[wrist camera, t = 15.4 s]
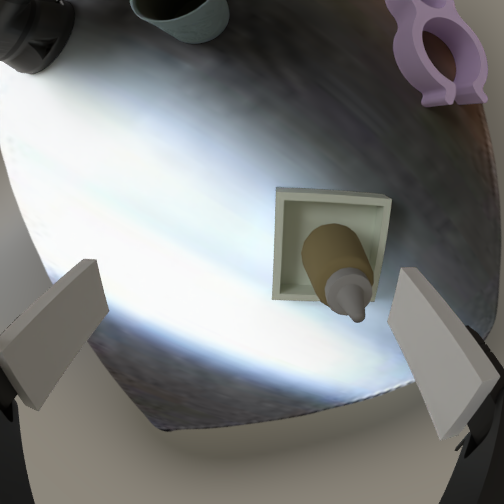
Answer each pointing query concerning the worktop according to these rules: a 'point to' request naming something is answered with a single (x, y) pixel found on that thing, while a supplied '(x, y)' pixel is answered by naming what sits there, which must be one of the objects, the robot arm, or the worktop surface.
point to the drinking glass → (185, 17)
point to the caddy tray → (314, 215)
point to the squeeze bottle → (338, 269)
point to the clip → (458, 41)
